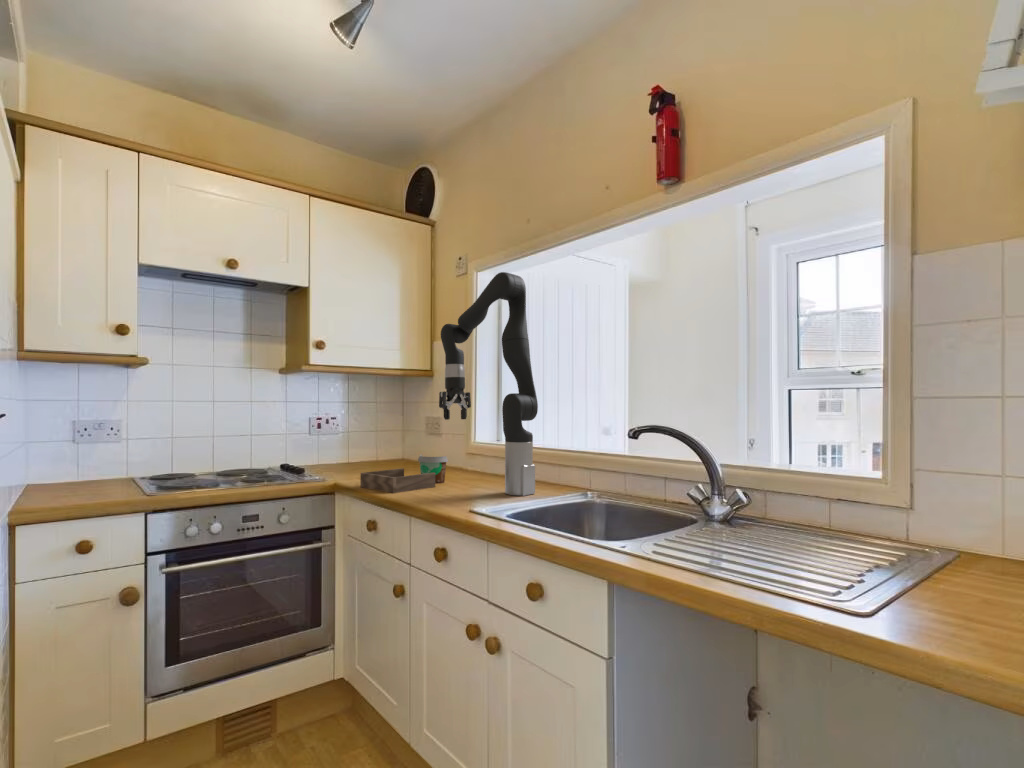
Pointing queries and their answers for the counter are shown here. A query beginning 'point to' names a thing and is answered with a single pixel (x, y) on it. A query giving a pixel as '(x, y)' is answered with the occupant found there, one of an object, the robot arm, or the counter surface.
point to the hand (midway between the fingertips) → (455, 419)
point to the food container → (434, 467)
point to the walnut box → (396, 481)
